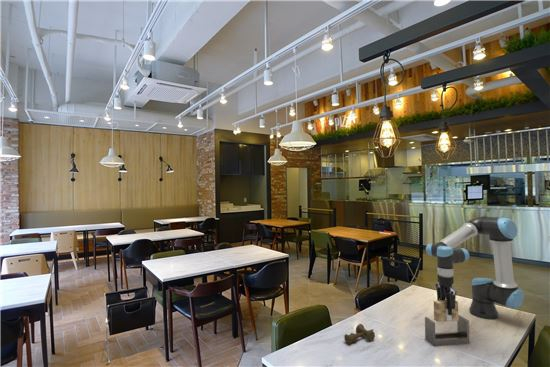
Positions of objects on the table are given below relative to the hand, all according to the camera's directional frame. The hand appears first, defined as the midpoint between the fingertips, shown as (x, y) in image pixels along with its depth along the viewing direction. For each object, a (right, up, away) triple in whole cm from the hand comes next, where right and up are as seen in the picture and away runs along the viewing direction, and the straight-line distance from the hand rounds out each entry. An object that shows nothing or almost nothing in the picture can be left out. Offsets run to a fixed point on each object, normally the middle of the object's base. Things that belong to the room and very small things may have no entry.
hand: (446, 318), depth 156 cm
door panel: (0, -1, 0) cm, 1 cm away
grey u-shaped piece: (0, -12, 0) cm, 12 cm away
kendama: (-45, -13, +3) cm, 48 cm away
